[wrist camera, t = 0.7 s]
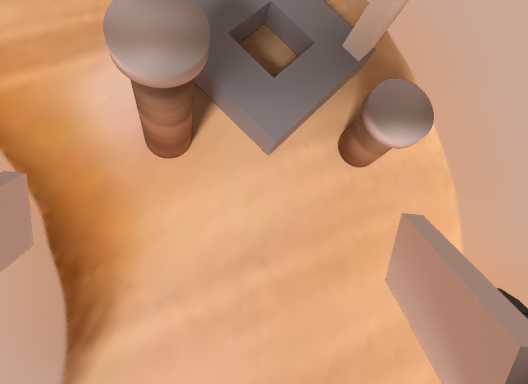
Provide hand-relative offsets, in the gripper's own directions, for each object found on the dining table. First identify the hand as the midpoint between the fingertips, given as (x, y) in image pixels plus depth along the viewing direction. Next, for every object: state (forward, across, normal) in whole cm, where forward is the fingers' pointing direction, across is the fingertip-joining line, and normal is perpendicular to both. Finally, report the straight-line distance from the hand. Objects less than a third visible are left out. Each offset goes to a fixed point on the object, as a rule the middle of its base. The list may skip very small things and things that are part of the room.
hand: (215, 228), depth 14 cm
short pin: (+28, +12, -2) cm, 31 cm away
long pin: (+25, -7, -2) cm, 26 cm away
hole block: (+32, +1, +6) cm, 33 cm away
